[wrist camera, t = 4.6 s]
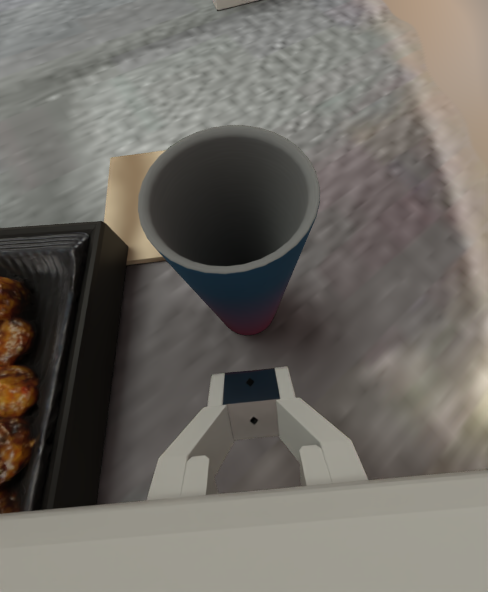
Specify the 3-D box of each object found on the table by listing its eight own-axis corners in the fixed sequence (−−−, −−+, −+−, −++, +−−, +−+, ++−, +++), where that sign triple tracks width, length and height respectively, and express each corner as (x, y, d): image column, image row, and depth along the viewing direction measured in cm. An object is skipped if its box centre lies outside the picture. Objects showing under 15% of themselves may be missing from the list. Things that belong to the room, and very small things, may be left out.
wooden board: (104, 267, 26) (99, 264, 25) (114, 163, 31) (110, 157, 30) (281, 246, 26) (281, 241, 25) (263, 143, 30) (263, 137, 30)
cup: (205, 282, 25) (132, 143, 11) (274, 267, 25) (292, 110, 11) (217, 353, 22) (143, 293, 8) (293, 336, 22) (347, 249, 8)
